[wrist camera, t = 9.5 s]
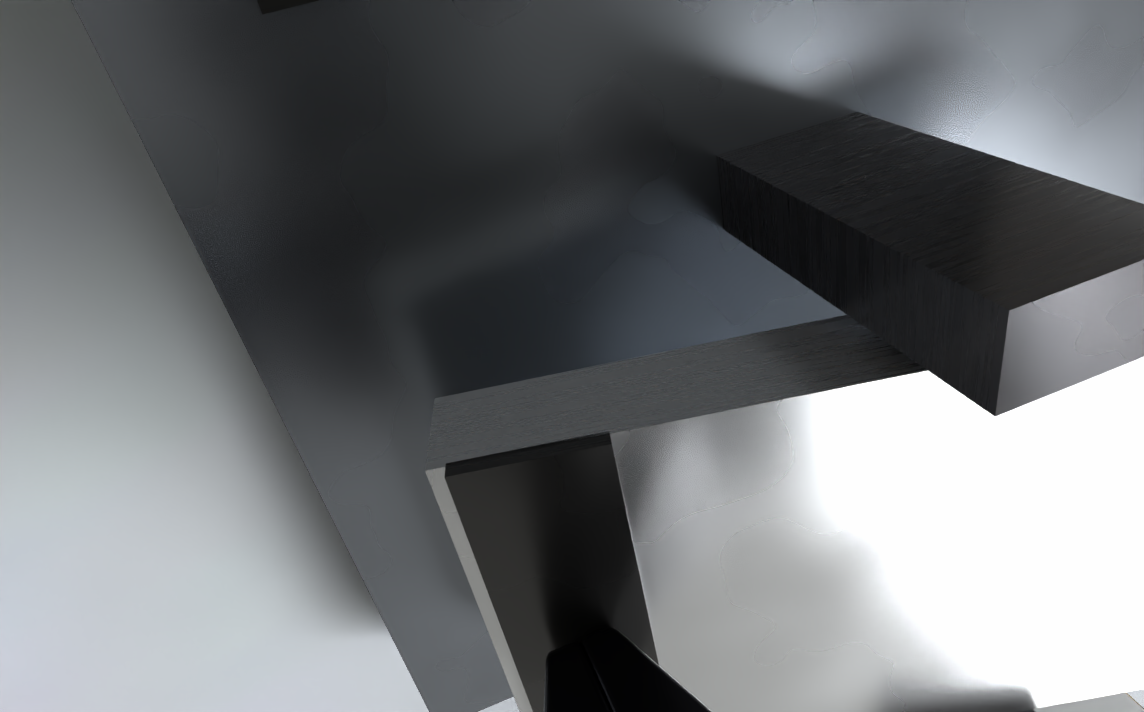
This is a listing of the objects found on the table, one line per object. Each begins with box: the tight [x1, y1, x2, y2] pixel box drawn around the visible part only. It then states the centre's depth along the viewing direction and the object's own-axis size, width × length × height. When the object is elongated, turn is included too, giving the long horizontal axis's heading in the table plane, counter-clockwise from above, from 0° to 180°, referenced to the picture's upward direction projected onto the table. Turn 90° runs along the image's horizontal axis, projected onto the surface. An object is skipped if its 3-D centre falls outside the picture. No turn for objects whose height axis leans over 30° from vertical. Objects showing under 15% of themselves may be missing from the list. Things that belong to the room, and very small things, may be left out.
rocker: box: [425, 315, 1144, 712], centre depth 9 cm, size 11×6×1 cm, turn 102°
